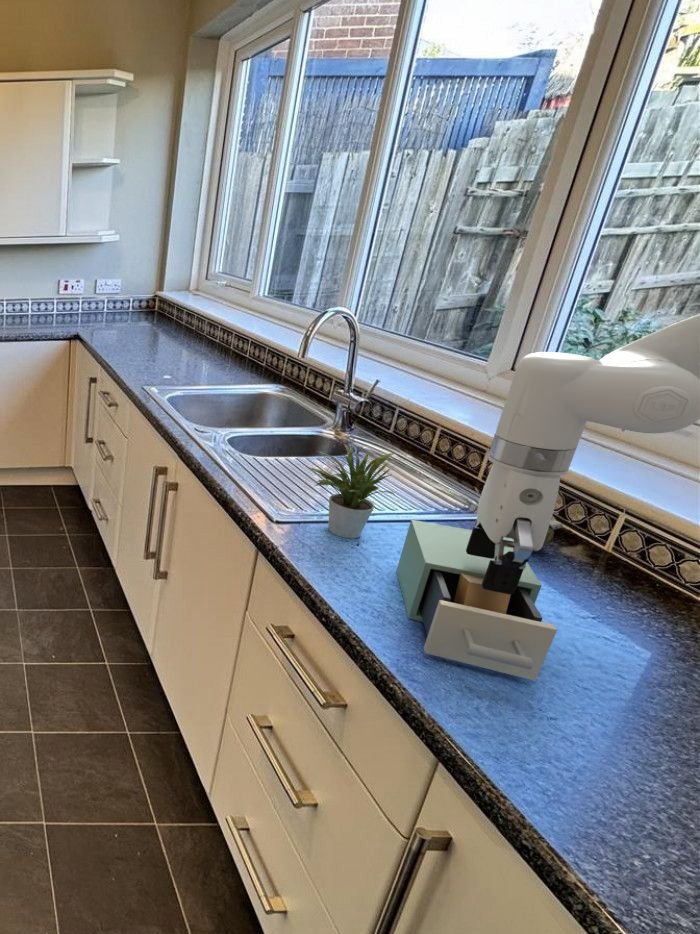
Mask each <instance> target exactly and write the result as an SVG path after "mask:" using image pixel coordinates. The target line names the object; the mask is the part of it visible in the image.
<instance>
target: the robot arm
mask: <svg viewBox="0 0 700 934" xmlns="http://www.w3.org/2000/svg"><path fill="white" fill-rule="evenodd" d="M699 420H700V313H698V314H696V315H693V316H690V317H688V318H685V319H683V320H679V321H677V322H675V323H672V324H670V325H668V326H666V327H664V328H663V327H662V328H661V329H658V330H656V331H654V332H652V333H649V334H647V335H645V336H643V337H641V338H638V339H636V340H634V341H632V342H630V343H628V344H625V345H623V346H620V347H619V348H617V349H615V350H613V351H610V352H609V353H607V354H605V355H604V356H602V357H601V358H600V359H597V358H594V357H591V356H587V355H582V354H576V353H568V352H560V351H559V352H558V351H538V352H532V353H528V354H526V355H525V356H523V357H522V358H521V359H520V360H519V362H518V363H517V366H516V368H515V371H514V374H513V376H512V380H511V383H510V386H509V389H508V393H507V396H506V398H505V402H504V405H503V408H502V411H501V414H500V418H499V421H498V423H497V426H496V430H495V432H494V435H493V439H492V442H491V444H490V448H489V450H488V453H487V457H486V458H487V459H488V461H489V462H491V463H492V464H491V468H490V470H489V471H488V474H487V477H486V480H485V482H484V485H483V489H482V491H481V493H480V496H479V500H478V504H477V509H476V516H477V518H476V519H475V521H474V527H473V528H472V529H471V530H472V533H471V536H470V539H469V542H468V545H467V548H466V552H467V554H469V555H474V556H479V557H484V558H490V559H494V561H493V560H490V562H489V565H488V568H487V571H486V574H485V576H484V579H483V582H482V587H483V589H485V590H490V591H495V592H500V593H505V594H510V595H513V594H514V593H515V591H516V588H517V586H518V583H519V580H520V578H521V575H522V572H523V570H524V569H525V567H526V563H529V561H530V556H531V555H532V553H533V552H539V551H540V550H541V549H542V546H543V543H544V540H545V537H546V534H547V531H548V528H549V527H550V526H549V525H550V521H551V518H552V516H553V514H554V511H555V509H556V504H557V499H558V496H559V490H560V486H561V485H560V484H561V476H565V475H567V474H568V473H569V470H570V467H571V464H572V461H573V459H574V456H575V454H576V451H577V449H578V445H579V443H580V440H581V438H582V436H583V432H584V430H585V428H586V426H587V425H586V424H587V422H588V423H589V422H590V423H594V424H600V425H603V426H608V427H612V428H617V429H621V430H625V431H629V432H635V433H641V434H665V433H672V432H677V431H680V430H683V429H686V428H688V427H690V426H691V425H693V424H695V423H696V422H698V421H699ZM503 537H506V538H512V539H515V542H514V541H508V540H503ZM504 547H509V548H513V552H511V551H509V552H507V553H506V554H504ZM503 554H504V555H503Z"/></svg>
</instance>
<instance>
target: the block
mask: <svg viewBox="0 0 700 934" xmlns="http://www.w3.org/2000/svg"><path fill="white" fill-rule="evenodd" d="M483 579H484V578H482V577H477V576H472V575H467V574H462V573H461V574H460V578H459V582H458V586H457V590H456V594H455V598H454V603H456V604H461V605H466V606H470V607H475V608H479V609H484V610H488V611H493V612H498V613H502V614H506V611H507V608H508V604H509V600H510V596H511V595H510V594H505V593H500V592H495V591H490V590H485V589H483V587H482V582H483Z"/></svg>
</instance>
